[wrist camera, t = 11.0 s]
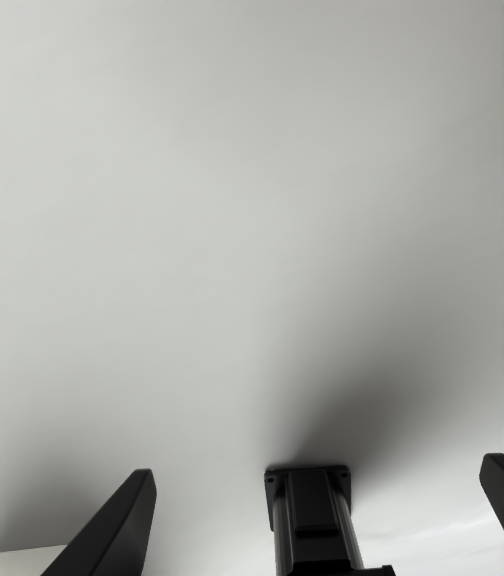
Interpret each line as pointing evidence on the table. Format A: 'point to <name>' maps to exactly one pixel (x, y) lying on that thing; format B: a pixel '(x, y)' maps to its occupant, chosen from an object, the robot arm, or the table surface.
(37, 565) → the milk
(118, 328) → the table surface
